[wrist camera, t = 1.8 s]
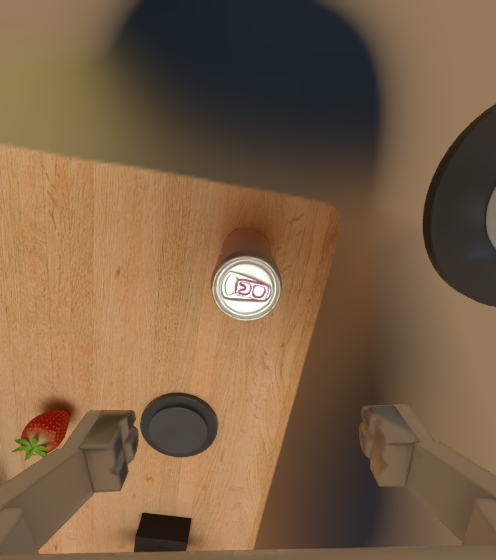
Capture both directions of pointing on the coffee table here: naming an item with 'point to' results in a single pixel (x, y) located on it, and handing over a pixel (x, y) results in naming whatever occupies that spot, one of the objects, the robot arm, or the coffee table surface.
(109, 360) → the coffee table surface
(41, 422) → the fruit
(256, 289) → the beverage can
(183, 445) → the saucer
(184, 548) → the lamp
